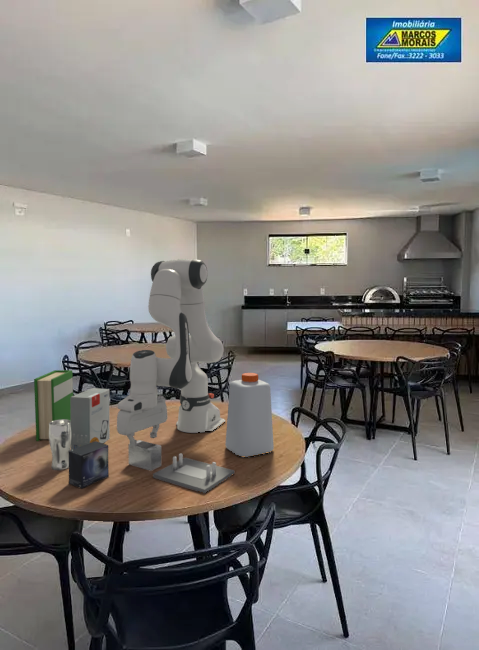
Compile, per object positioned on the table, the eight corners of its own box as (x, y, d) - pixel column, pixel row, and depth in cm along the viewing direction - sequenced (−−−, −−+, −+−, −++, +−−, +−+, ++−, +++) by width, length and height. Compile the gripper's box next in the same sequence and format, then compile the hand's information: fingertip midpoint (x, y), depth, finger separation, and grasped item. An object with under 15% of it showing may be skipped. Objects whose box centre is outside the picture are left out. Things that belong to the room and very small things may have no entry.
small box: (82, 489, 134) (81, 455, 133) (67, 484, 137) (66, 450, 136) (110, 476, 143) (109, 444, 142) (95, 472, 146) (95, 440, 145)
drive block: (139, 459, 157) (139, 439, 156) (161, 466, 152) (161, 445, 151) (128, 464, 153) (128, 444, 152) (151, 471, 147) (150, 449, 147)
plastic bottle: (278, 452, 164) (279, 376, 161) (241, 460, 156) (242, 380, 154) (256, 440, 177) (257, 368, 174) (221, 446, 170) (221, 372, 167)
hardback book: (55, 441, 174) (53, 379, 172) (36, 441, 174) (34, 379, 172) (73, 426, 191) (72, 370, 189) (56, 426, 192) (54, 370, 189)
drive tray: (185, 460, 156) (185, 446, 155) (234, 474, 145) (234, 458, 145) (152, 477, 142) (152, 461, 142) (204, 493, 132) (204, 476, 131)
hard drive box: (89, 453, 162) (88, 398, 160) (70, 451, 163) (68, 397, 162) (110, 438, 177) (109, 388, 175) (92, 437, 179) (91, 387, 177)
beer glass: (77, 464, 152) (75, 420, 151) (62, 472, 146) (61, 426, 144) (60, 461, 154) (58, 418, 153) (45, 469, 148) (43, 424, 146)
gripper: (158, 393, 160) (157, 431, 161) (113, 404, 143) (113, 448, 144) (171, 395, 157) (171, 435, 158) (127, 407, 140) (128, 452, 141)
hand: (143, 441), depth 151 cm, fingers open, 8 cm apart
